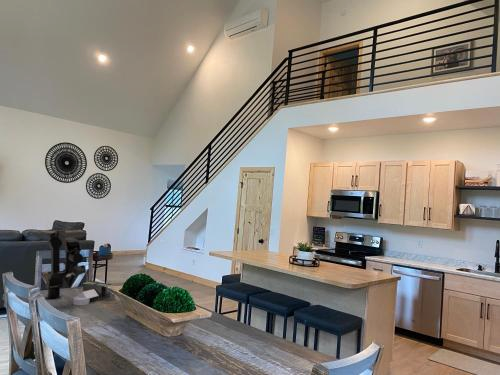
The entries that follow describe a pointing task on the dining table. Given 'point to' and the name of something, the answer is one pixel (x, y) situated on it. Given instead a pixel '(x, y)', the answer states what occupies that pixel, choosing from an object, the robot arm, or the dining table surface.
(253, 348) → the dining table surface
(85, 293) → the wedge on round base
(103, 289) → the gauge housing
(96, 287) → the gauge plunger
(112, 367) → the dining table surface
